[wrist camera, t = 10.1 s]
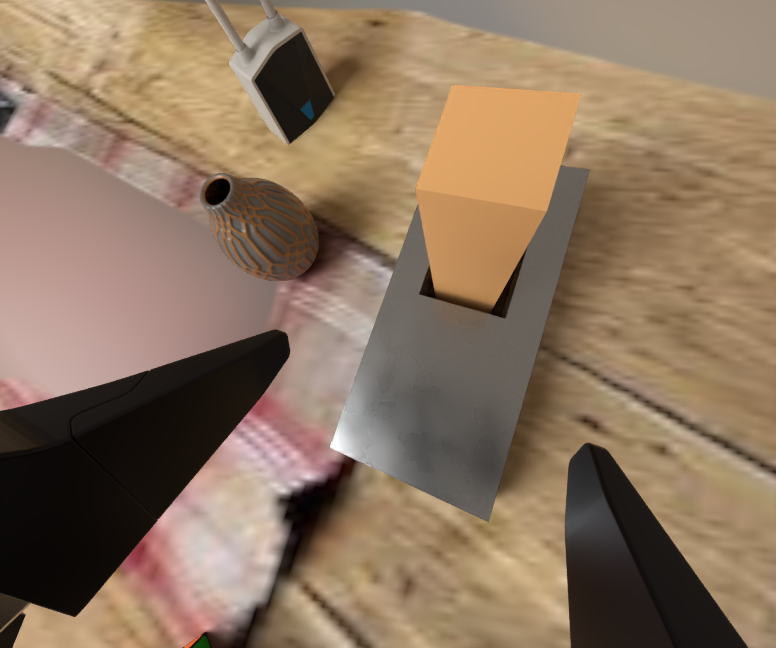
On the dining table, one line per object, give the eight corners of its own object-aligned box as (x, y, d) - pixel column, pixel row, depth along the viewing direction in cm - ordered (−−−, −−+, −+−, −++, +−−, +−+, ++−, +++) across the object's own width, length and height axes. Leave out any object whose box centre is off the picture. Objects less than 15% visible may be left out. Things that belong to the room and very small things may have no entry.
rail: (482, 500, 18) (488, 522, 16) (346, 438, 21) (330, 447, 18) (570, 198, 21) (589, 169, 18) (439, 177, 24) (437, 149, 21)
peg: (489, 313, 21) (546, 211, 8) (436, 299, 22) (415, 188, 9) (505, 263, 21) (581, 94, 9) (452, 251, 22) (452, 84, 10)
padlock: (312, 79, 29) (174, -221, 15) (338, 97, 28) (216, -209, 13) (266, 127, 29) (84, -124, 15) (290, 147, 28) (118, -104, 13)
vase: (325, 291, 24) (256, 243, 15) (253, 290, 25) (156, 245, 17) (335, 216, 25) (276, 133, 17) (266, 219, 27) (181, 144, 18)
